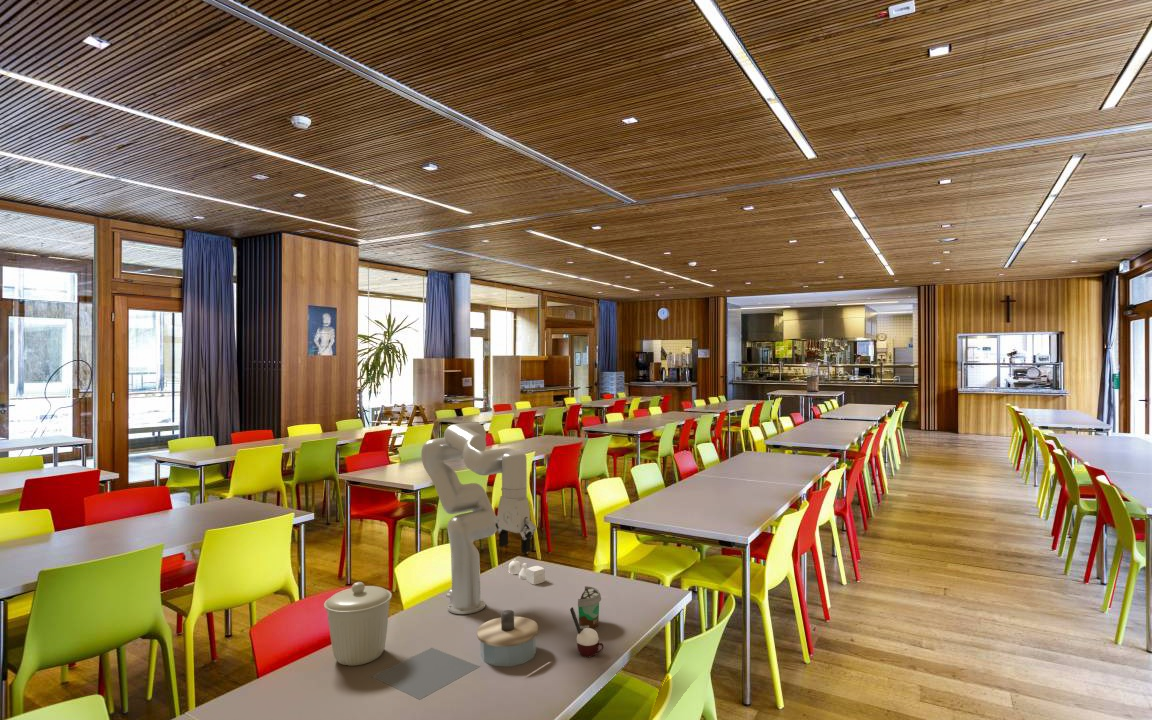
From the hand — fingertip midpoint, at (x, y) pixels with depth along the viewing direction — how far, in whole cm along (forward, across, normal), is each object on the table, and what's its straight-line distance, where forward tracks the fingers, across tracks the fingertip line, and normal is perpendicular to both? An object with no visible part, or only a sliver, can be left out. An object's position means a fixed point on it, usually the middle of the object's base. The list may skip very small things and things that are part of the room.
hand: (514, 548), depth 185 cm
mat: (+25, 0, -32) cm, 41 cm away
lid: (+19, +9, -12) cm, 24 cm away
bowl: (+25, +10, -12) cm, 29 cm away
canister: (+26, -23, -38) cm, 52 cm away
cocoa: (+25, +27, +2) cm, 37 cm away
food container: (+25, +16, +17) cm, 35 cm away
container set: (+27, -32, +37) cm, 56 cm away
